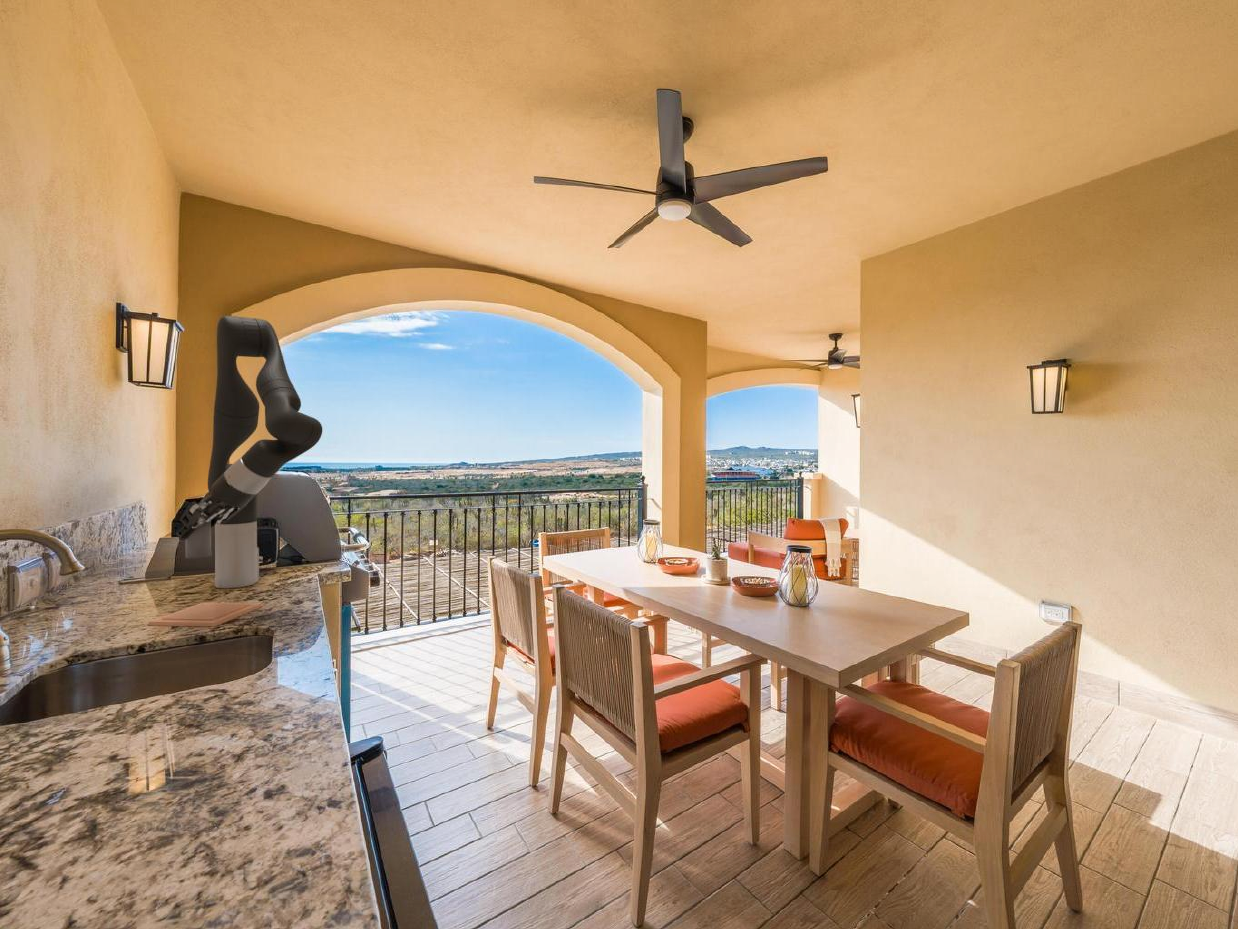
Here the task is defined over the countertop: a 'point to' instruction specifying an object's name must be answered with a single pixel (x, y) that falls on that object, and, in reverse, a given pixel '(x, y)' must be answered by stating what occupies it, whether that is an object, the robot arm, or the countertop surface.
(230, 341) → the robot arm
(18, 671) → the countertop surface
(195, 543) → the grey tall block
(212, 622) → the coaster
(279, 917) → the countertop surface
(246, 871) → the countertop surface
